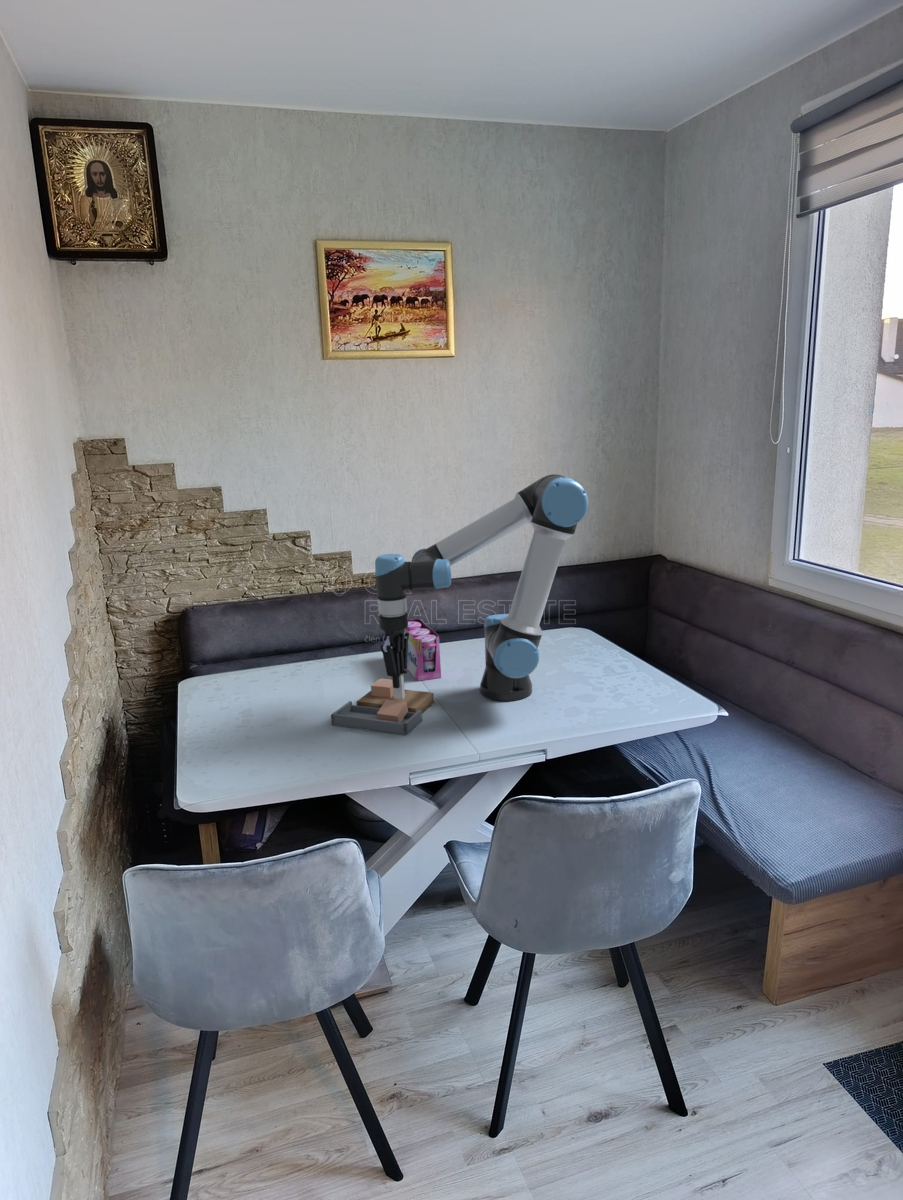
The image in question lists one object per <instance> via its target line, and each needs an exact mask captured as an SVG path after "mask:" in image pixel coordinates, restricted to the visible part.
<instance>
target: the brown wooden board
mask: <svg viewBox="0 0 903 1200" xmlns="http://www.w3.org/2000/svg"><path fill="white" fill-rule="evenodd" d="M404 690H405V698H403V699H397V698H394V696H392V697H391V698H388V697H379V696H372V695H371V690H370V691H367V693H365V694H364V695H363V696H361V697H360V698H359V699H358V700H357V701H356V705H358V706H366V707H374V708H381V707H382V705H383V704H384V702H385V701H386V700H393V701H402V702H406V703H407V708H408V712H414V713H416V712H417V711H418V710H422V714H423V713H424V712H425V711H427V710H428V709H429V708H430V707H431V706H432V705H433V704H434V703H435V701H434V700H435V699H434V692H429V691H419V690H413V689H405V688H404Z"/></svg>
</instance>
